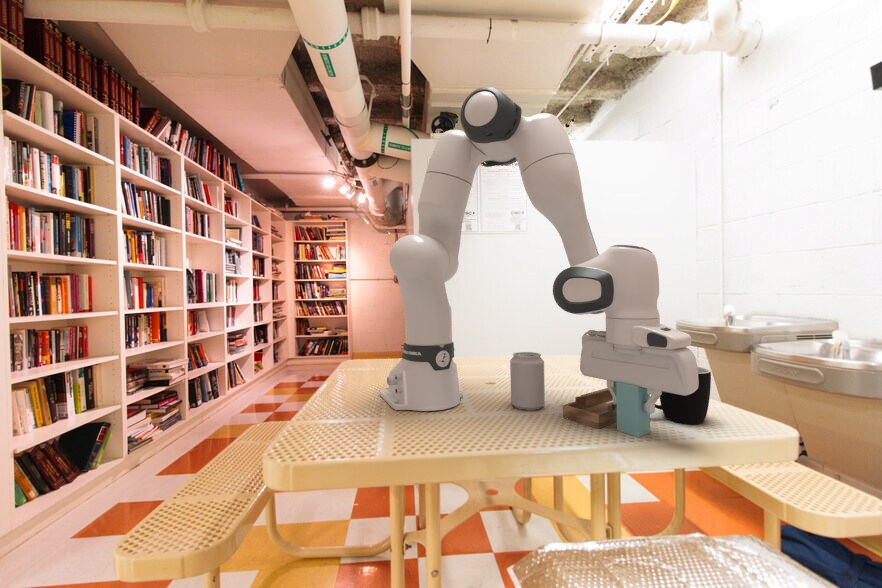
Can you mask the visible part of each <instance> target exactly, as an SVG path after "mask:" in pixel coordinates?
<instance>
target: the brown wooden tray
mask: <svg viewBox="0 0 882 588" xmlns="http://www.w3.org/2000/svg"><path fill="white" fill-rule="evenodd" d="M574 400H575V401H572V402H569V403H565V404H563V405H562V418H563V417H566V418H568V419H567V420H569V419H571V420H570V421H572V420H574V421H573V422H575V423H576V422H577V423H579V424H582V425H585V426H588V427H591V428H595V429H597V430H600V429H602V428H605V427H607V426H610V425H613V424H615V423H617V405H614V404H613V396H612V394H611V393H610V391H609V389H608V387H606V388H602V389H599V390H594V391H591V392H588V393H584V394H580V396H575V399H574ZM566 418H565V419H566Z"/></svg>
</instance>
